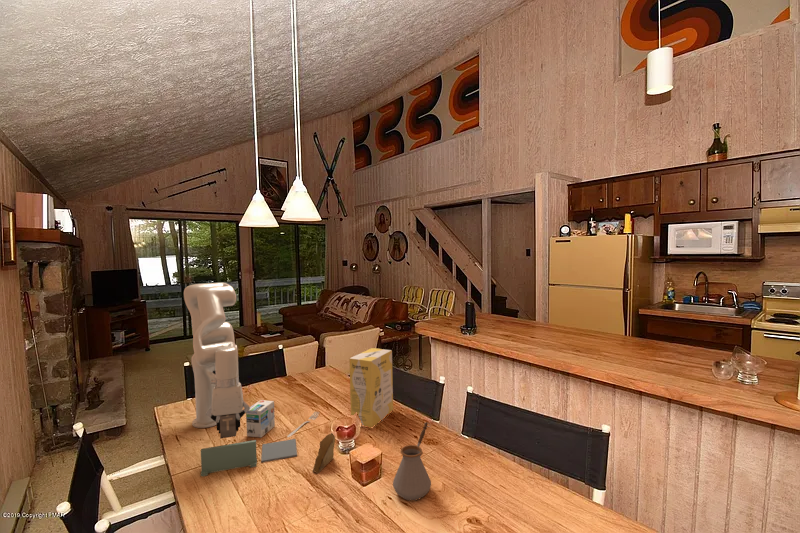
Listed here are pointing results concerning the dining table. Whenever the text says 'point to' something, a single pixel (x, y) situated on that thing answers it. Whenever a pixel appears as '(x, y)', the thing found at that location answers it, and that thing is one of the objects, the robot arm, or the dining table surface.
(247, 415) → the light bulb box
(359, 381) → the pasta box
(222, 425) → the lettered block
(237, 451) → the green panel with feet
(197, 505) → the dining table surface
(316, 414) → the fork
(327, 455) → the rock
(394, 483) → the coffee pot
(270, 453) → the mat
